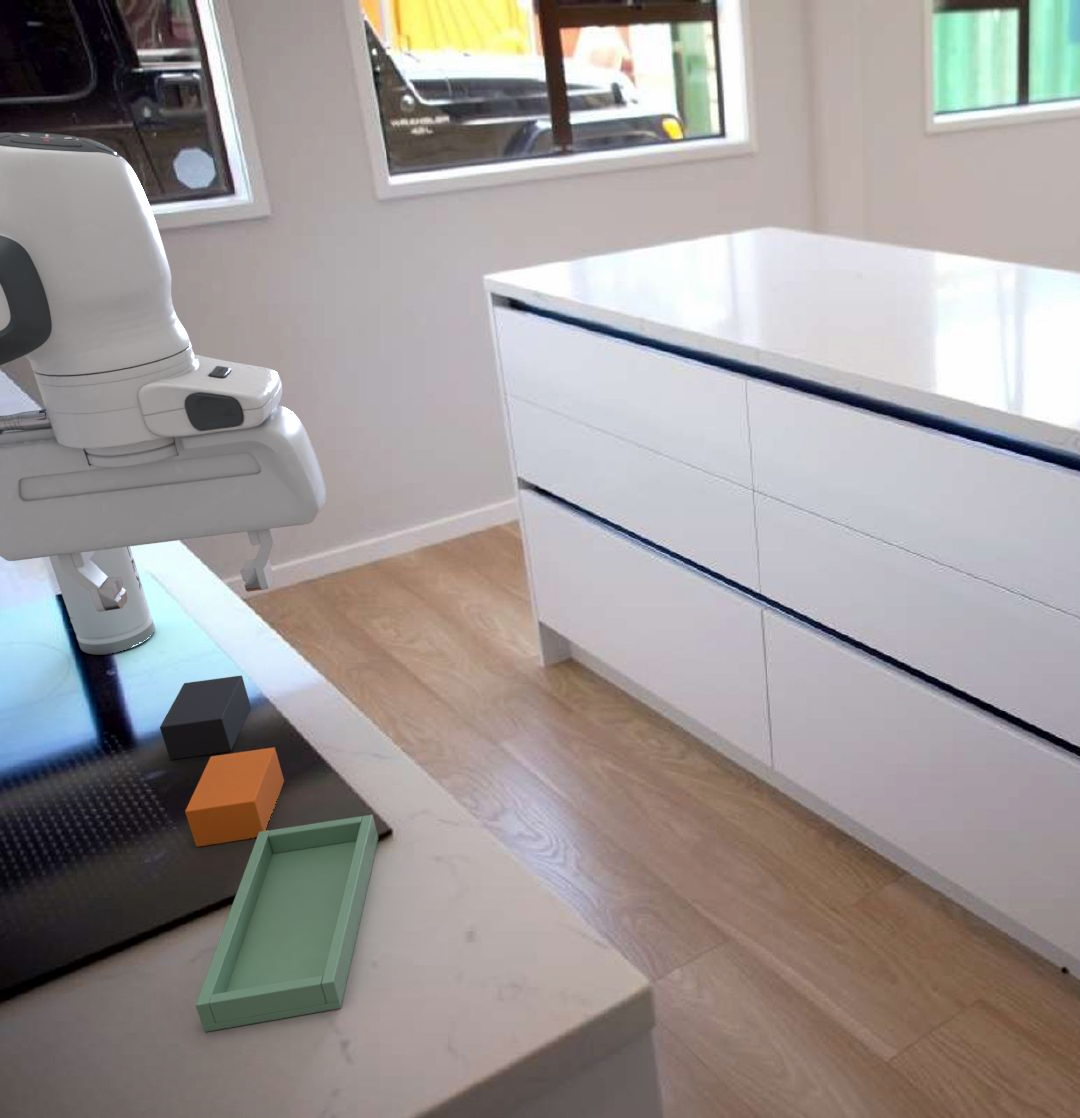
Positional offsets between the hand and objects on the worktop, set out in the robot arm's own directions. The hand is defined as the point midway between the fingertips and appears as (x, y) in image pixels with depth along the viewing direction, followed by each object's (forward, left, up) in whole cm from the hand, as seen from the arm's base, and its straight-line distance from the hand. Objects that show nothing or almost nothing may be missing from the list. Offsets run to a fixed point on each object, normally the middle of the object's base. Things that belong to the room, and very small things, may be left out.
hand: (187, 597), depth 86 cm
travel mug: (-18, +31, -17) cm, 39 cm away
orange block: (0, -2, -17) cm, 17 cm away
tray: (+6, -16, -17) cm, 24 cm away
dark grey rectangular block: (-5, +11, -17) cm, 20 cm away
